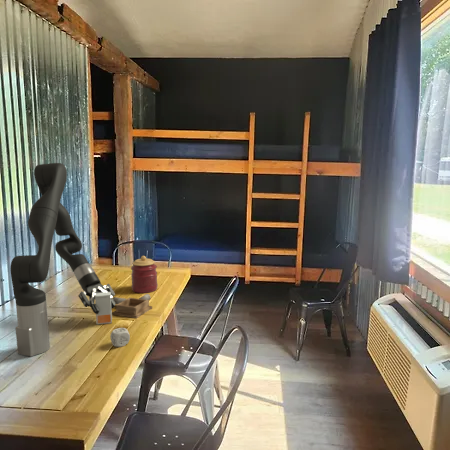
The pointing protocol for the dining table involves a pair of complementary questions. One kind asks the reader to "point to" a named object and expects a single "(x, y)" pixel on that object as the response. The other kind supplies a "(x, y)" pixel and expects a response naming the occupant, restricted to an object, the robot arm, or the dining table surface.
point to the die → (120, 337)
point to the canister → (144, 275)
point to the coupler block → (132, 306)
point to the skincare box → (103, 307)
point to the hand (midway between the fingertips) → (106, 309)
